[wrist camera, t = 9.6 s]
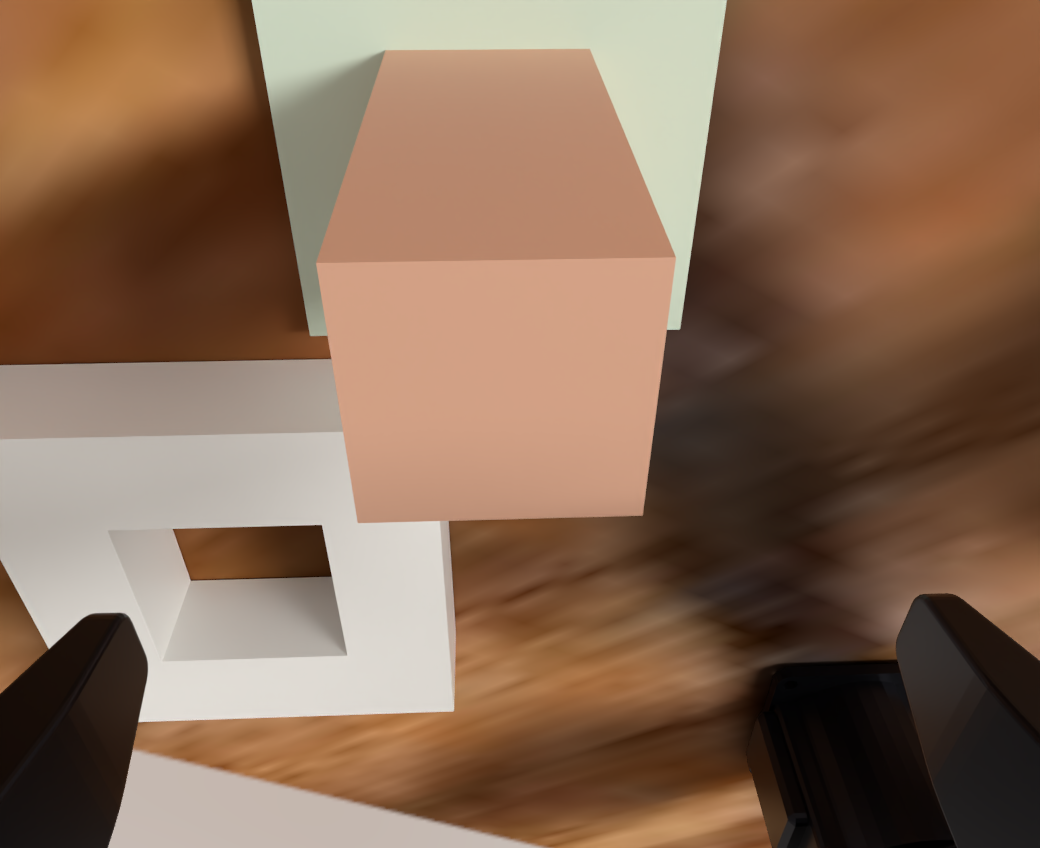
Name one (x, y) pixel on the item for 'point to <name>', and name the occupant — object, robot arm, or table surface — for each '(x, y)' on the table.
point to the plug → (495, 293)
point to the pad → (483, 26)
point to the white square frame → (215, 504)
